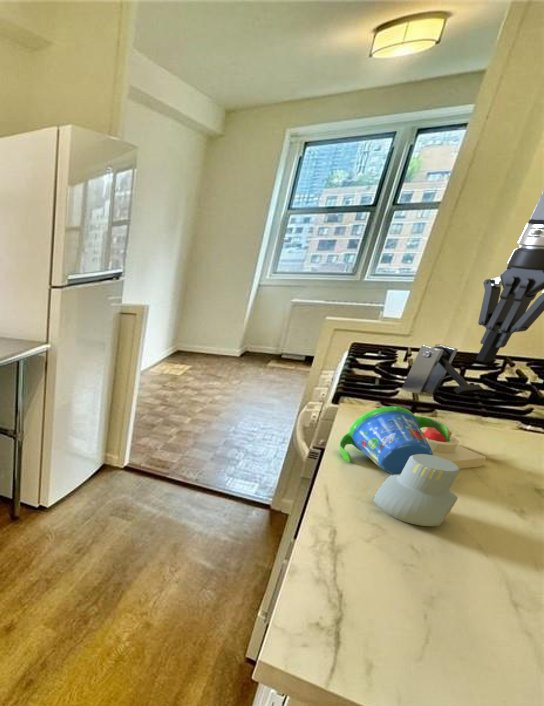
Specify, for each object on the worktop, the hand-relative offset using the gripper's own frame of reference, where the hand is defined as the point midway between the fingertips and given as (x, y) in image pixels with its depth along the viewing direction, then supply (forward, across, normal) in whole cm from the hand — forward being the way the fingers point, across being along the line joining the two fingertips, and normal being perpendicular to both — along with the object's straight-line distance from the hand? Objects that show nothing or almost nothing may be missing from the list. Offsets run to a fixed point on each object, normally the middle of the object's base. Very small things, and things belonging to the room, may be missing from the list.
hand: (484, 360), depth 109 cm
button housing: (+13, +16, -28) cm, 35 cm away
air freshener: (+13, +33, -52) cm, 62 cm away
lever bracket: (+12, -10, 0) cm, 16 cm away
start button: (+9, +16, -28) cm, 34 cm away
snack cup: (+9, +23, -42) cm, 49 cm away
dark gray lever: (+5, -6, 0) cm, 8 cm away
